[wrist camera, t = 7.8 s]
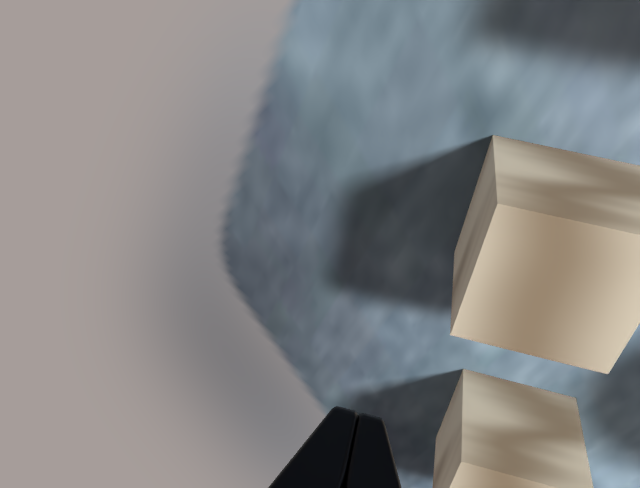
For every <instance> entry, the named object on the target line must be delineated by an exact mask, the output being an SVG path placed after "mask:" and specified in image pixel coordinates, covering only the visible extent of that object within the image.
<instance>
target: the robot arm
mask: <svg viewBox="0 0 640 488" xmlns="http://www.w3.org/2000/svg"><path fill="white" fill-rule="evenodd" d="M269 488H401V484H400V480H399V476H398V473H397V469H396V465H395V461H394V457H393V453H392V450H391V446H390V442H389V438H388V434H387V431H386V427H385V423H384V421H383V420H382V419H381V418H379V417H376V416H372V415H368V414H364V413H361V414H359V415H358V414H357V413H356V412H355V411H353V410H350V409H346V408H342V407H339V406H336V407H334V408H333V409H332V410H331V411H330V412H329V413H328V414H327V416H326V417H325V418H324V419H323V421H322V422H321V423H320V424H319V426H318V427H317V428H316V429H315V431H314V432H313V433H312V434H311V435H310V437H309V438H308V439H307V440H306V442H305V443H304V444H303V446H302V447H301V448H300V449H299V450H298V452H297V453H296V454H295V455H294V457H293V458H292V459H291V460H290V462H289V463H288V464H287V465H286V466H285V468H284V469H283V470H282V471H281V473H280V474H279V475H278V476H277V478H276V479H275V480H274V481H273V483H272V484H271V485H270V486H269Z"/></svg>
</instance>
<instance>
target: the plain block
mask: <svg viewBox="0 0 640 488" xmlns="http://www.w3.org/2000/svg"><path fill="white" fill-rule="evenodd" d="M639 323H640V166H639V165H634V164H629V163H624V162H619V161H615V160H610V159H605V158H600V157H595V156H591V155H586V154H581V153H576V152H572V151H567V150H562V149H557V148H552V147H548V146H543V145H538V144H533V143H528V142H524V141H519V140H514V139H509V138H505V137H500V136H495V135H493V136H492V139H491V142H490V145H489V148H488V151H487V154H486V157H485V160H484V163H483V166H482V169H481V172H480V175H479V178H478V181H477V185H476V188H475V191H474V194H473V197H472V200H471V203H470V206H469V209H468V212H467V215H466V218H465V221H464V224H463V227H462V230H461V233H460V236H459V240H458V243H457V246H456V249H455V252H454V271H453V291H452V311H451V330H450V335H452V336H456V337H460V338H464V339H468V340H472V341H476V342H480V343H484V344H488V345H492V346H496V347H500V348H504V349H508V350H512V351H516V352H520V353H524V354H528V355H532V356H536V357H540V358H544V359H548V360H552V361H556V362H560V363H564V364H568V365H572V366H576V367H580V368H585V369H589V370H593V371H597V372H601V373H605V374H609V372H610V371H611V369H612V367H613V366H614V364H615V362H616V361H617V359H618V357H619V356H620V354H621V353H622V351H623V349H624V348H625V346H626V344H627V343H628V341H629V340H630V338H631V336H632V335H633V333H634V331H635V330H636V328H637V327H638V325H639Z"/></svg>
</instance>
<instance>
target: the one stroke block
mask: <svg viewBox="0 0 640 488" xmlns="http://www.w3.org/2000/svg"><path fill="white" fill-rule="evenodd" d="M433 488H593V483H592V478H591V473H590V468H589V463H588V457H587V452H586V447H585V442H584V437H583V432H582V427H581V421H580V416H579V411H578V406H577V401H576V398H574V397H570V396H567V395H563V394H559V393H555V392H551V391H547V390H543V389H539V388H535V387H532V386H528V385H524V384H520V383H516V382H512V381H508V380H504V379H500V378H497V377H493V376H489V375H485V374H481V373H477V372H473V371H469V370H465V369H463V371H462V373H461V376H460V378H459V381H458V383H457V386H456V388H455V391H454V393H453V396H452V399H451V401H450V404H449V406H448V409H447V411H446V414H445V416H444V419H443V421H442V424H441V426H440V429H439V431H438V434H437V436H436V446H435V461H434V476H433Z"/></svg>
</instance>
